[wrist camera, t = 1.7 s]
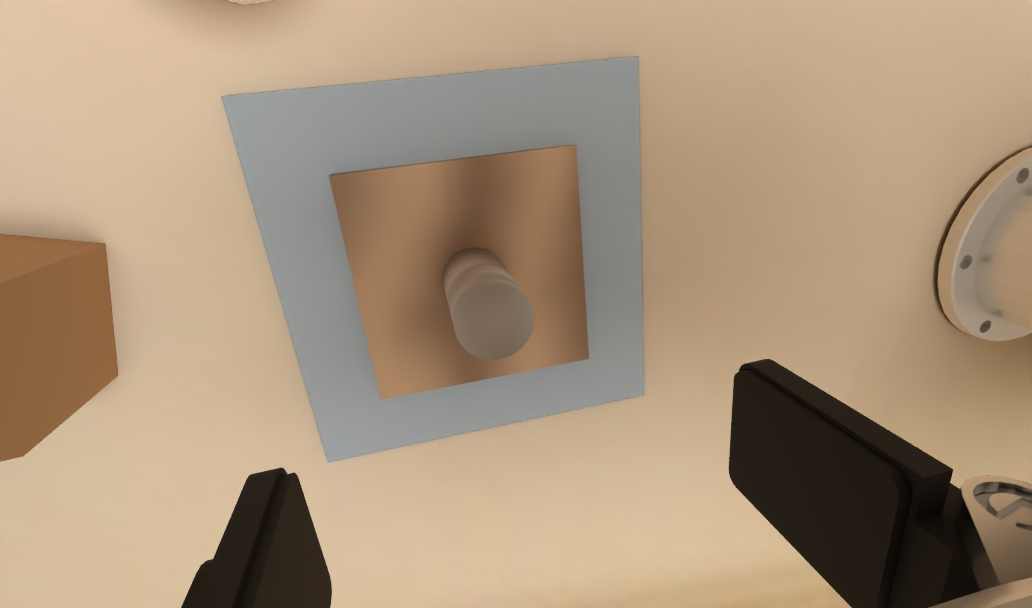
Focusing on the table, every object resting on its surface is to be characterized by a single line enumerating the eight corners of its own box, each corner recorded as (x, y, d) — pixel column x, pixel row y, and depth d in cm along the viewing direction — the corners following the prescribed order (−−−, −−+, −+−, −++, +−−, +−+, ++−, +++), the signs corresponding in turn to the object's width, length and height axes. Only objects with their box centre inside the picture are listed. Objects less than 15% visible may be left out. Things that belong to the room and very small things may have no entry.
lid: (570, 144, 23) (631, 149, 17) (584, 352, 27) (637, 418, 21) (331, 174, 22) (300, 191, 15) (381, 392, 26) (373, 477, 19)
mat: (634, 57, 23) (638, 55, 23) (641, 391, 29) (644, 395, 29) (224, 96, 20) (221, 96, 20) (328, 457, 27) (327, 462, 26)
